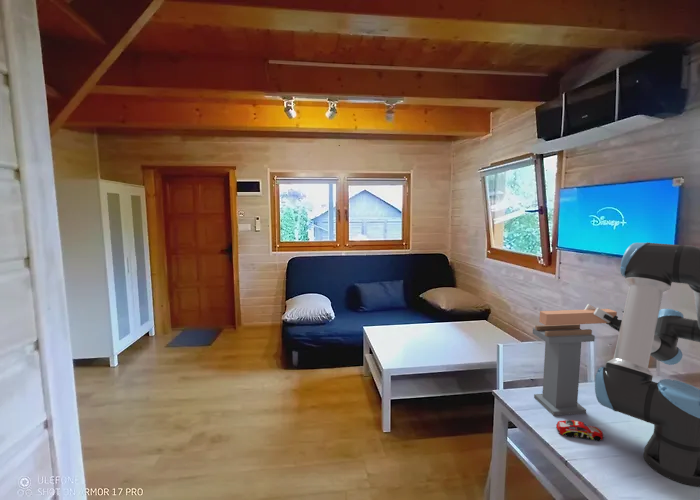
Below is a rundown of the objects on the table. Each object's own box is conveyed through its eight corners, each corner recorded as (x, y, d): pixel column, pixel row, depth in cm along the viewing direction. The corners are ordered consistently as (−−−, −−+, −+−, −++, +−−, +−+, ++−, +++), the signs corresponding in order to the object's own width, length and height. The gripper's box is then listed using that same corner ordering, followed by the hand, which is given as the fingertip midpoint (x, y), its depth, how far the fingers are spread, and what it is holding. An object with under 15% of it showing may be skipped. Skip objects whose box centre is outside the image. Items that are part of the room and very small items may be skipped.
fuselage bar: (607, 319, 138) (608, 308, 138) (616, 322, 134) (616, 311, 134) (539, 321, 136) (540, 311, 136) (546, 325, 132) (546, 314, 132)
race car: (600, 433, 123) (601, 422, 122) (606, 443, 117) (607, 431, 117) (554, 426, 126) (555, 415, 126) (558, 436, 121) (559, 424, 121)
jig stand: (569, 395, 145) (573, 321, 141) (591, 413, 133) (597, 332, 130) (527, 398, 144) (531, 323, 140) (546, 416, 132) (551, 334, 128)
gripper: (656, 356, 130) (603, 325, 127) (617, 338, 147) (569, 311, 144) (668, 337, 129) (615, 306, 126) (627, 322, 146) (580, 294, 143)
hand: (591, 309), depth 135 cm, fingers closed on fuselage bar, 4 cm apart
